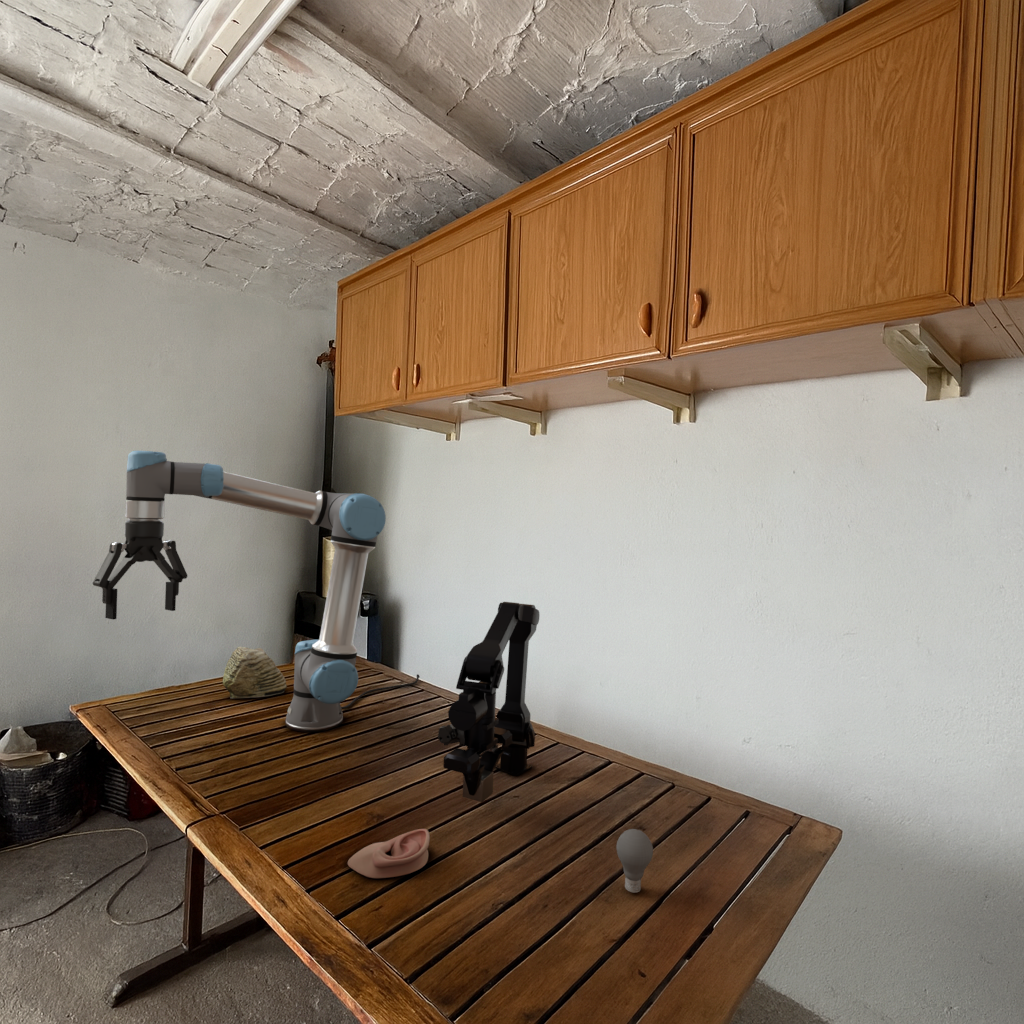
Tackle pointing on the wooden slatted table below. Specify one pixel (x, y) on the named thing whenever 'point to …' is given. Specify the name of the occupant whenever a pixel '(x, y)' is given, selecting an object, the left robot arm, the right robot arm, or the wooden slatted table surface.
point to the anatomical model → (393, 856)
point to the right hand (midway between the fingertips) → (477, 790)
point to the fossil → (252, 674)
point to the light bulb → (634, 857)
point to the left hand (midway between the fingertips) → (141, 614)
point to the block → (481, 787)
